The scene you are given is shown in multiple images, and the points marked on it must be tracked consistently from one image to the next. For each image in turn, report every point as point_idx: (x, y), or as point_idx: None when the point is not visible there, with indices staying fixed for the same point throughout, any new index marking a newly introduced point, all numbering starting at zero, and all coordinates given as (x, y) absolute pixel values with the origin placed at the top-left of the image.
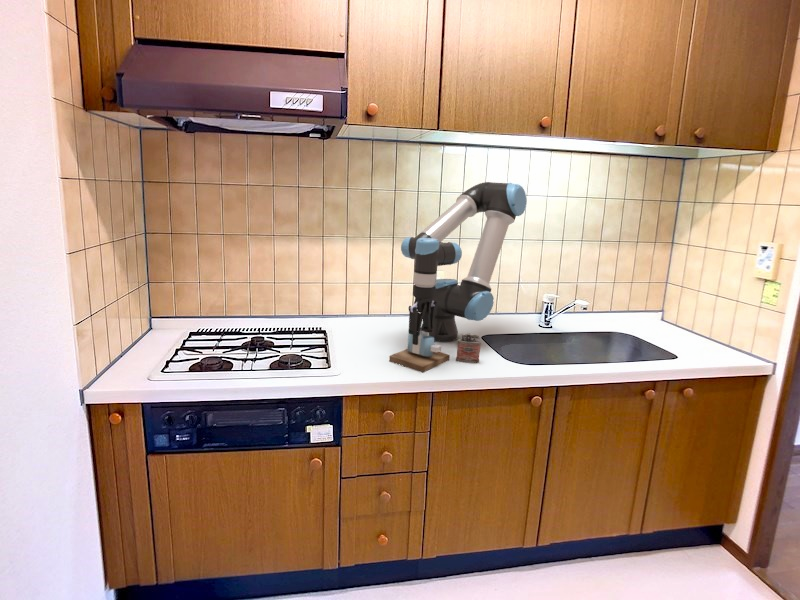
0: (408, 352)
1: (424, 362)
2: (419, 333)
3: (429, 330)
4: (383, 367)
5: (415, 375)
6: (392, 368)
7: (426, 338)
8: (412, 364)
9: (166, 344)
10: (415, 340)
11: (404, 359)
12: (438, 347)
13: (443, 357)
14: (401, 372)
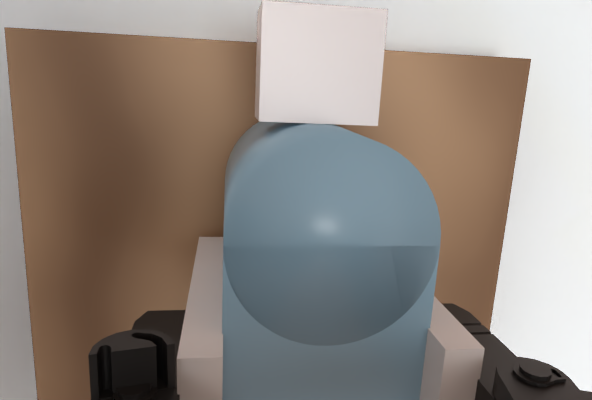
0: None
1: (424, 112)
2: (513, 384)
3: (155, 390)
4: (578, 345)
5: (582, 72)
6: (558, 290)
7: (397, 243)
8: (505, 181)
9: None
10: (494, 343)
11: (472, 292)
12: (329, 6)
13: (147, 38)
14: (588, 193)
